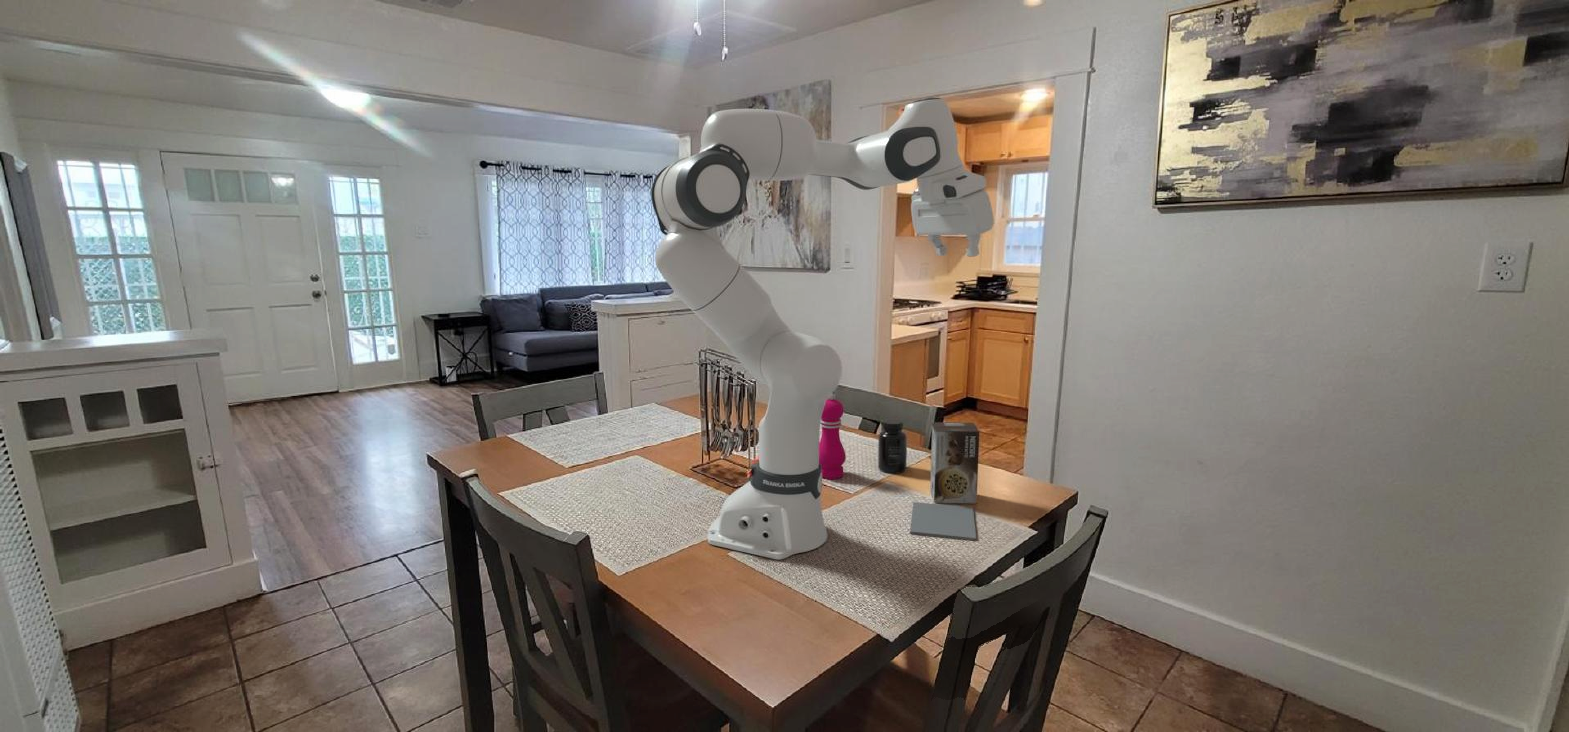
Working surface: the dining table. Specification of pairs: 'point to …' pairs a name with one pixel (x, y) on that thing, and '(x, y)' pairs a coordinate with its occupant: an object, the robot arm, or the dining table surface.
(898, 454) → the supplement bottle
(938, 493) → the coffee box
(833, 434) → the pepper mill
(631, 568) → the dining table surface
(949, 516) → the mat
